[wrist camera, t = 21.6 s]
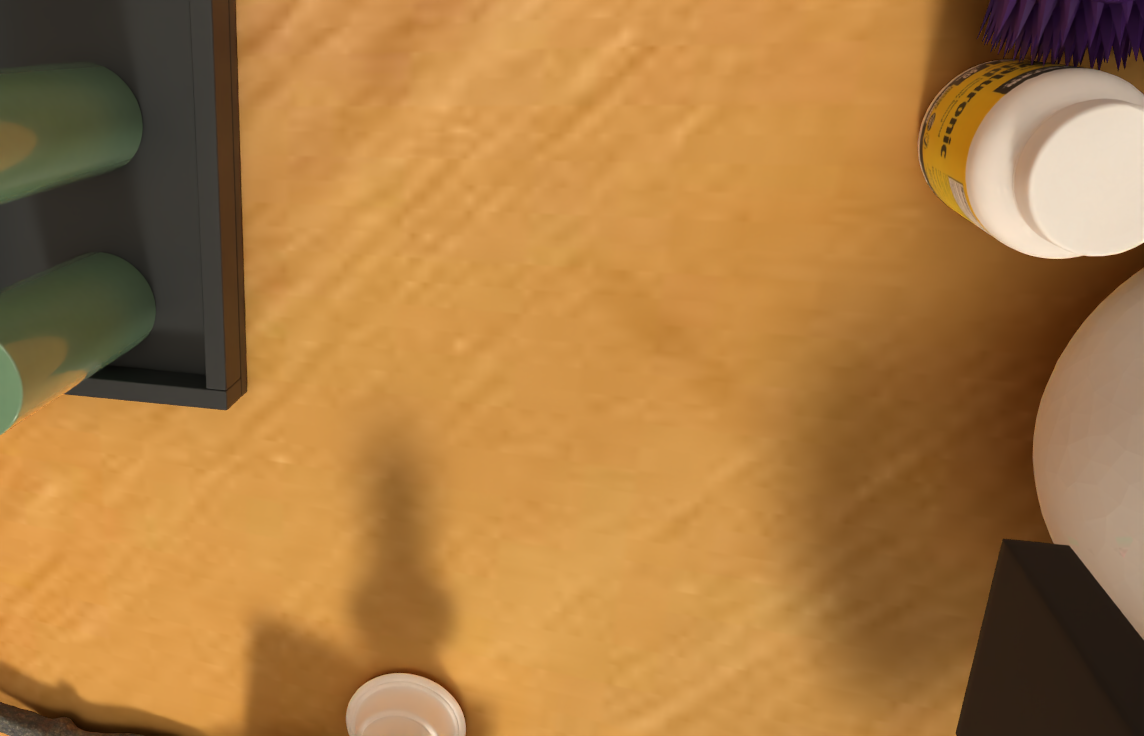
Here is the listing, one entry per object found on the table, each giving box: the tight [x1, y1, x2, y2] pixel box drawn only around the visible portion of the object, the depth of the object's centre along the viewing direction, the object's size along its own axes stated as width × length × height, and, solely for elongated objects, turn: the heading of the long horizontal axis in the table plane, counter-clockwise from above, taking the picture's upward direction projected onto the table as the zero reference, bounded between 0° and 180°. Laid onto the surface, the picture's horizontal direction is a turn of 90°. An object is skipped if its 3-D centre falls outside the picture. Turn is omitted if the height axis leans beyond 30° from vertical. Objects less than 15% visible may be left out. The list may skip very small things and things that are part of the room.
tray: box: [0, 0, 247, 410], centre depth 37 cm, size 22×11×2 cm, turn 176°
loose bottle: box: [0, 252, 156, 435], centre depth 34 cm, size 4×4×12 cm
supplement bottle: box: [918, 59, 1144, 259], centre depth 31 cm, size 5×5×10 cm
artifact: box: [0, 702, 145, 736], centre depth 46 cm, size 15×2×5 cm
